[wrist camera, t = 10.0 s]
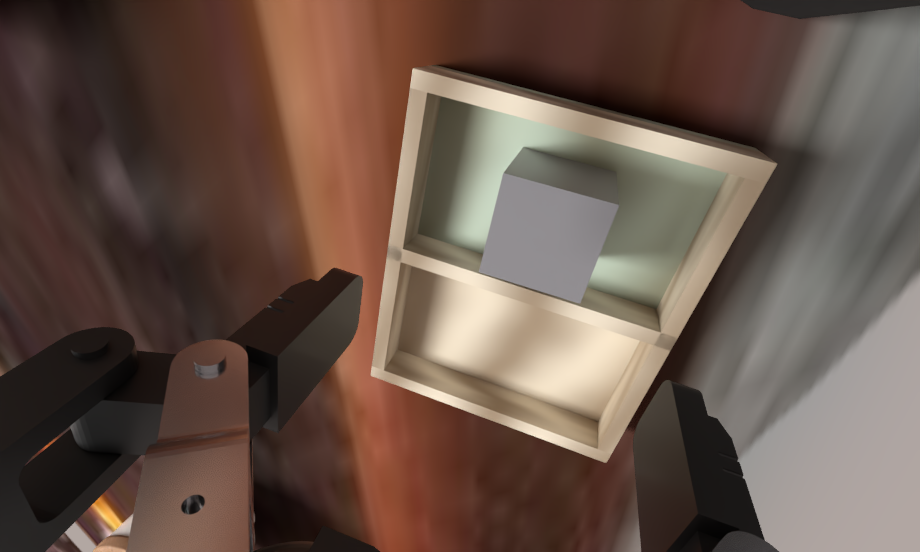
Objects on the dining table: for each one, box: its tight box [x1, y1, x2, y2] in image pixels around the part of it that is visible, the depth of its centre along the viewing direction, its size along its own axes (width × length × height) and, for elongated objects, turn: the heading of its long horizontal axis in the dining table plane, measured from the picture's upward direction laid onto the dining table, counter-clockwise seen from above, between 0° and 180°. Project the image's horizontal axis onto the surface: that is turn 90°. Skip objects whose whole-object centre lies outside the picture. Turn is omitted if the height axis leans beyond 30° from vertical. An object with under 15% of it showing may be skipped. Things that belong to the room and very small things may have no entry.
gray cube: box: [479, 147, 619, 304], centre depth 20 cm, size 4×4×5 cm
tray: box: [371, 65, 777, 463], centre depth 24 cm, size 15×18×3 cm
